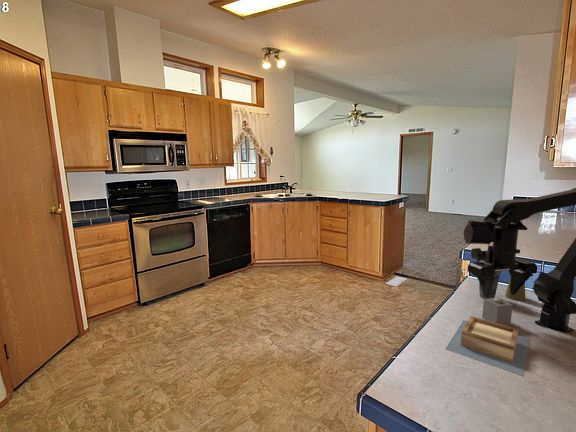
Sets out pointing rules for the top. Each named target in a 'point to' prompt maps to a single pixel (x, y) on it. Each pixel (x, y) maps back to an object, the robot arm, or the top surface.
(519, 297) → the cork
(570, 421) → the top surface
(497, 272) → the beverage cup
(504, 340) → the wooden tray
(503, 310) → the block
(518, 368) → the board
